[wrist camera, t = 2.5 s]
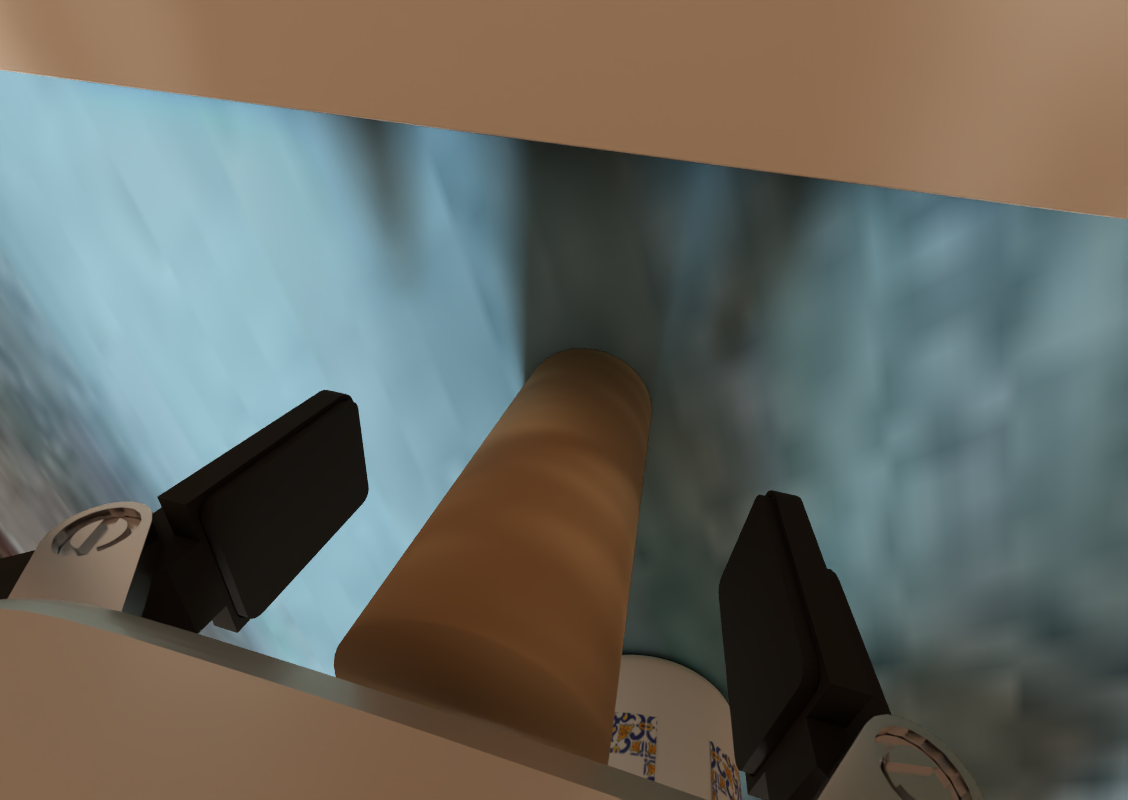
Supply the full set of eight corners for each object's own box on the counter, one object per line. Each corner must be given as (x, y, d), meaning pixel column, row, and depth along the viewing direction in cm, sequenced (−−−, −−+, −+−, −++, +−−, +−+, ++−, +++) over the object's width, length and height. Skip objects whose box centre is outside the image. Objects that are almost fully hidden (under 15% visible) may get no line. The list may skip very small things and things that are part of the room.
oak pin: (665, 363, 13) (637, 682, 5) (637, 473, 15) (586, 827, 7) (529, 336, 13) (312, 583, 5) (520, 446, 15) (351, 742, 7)
